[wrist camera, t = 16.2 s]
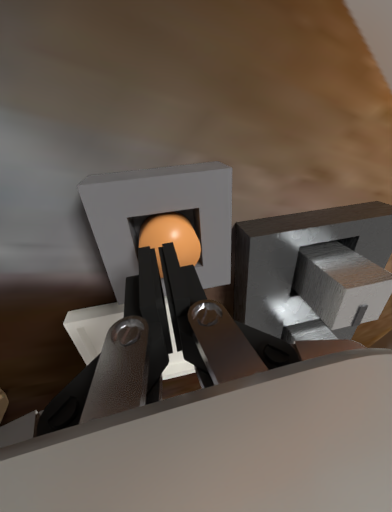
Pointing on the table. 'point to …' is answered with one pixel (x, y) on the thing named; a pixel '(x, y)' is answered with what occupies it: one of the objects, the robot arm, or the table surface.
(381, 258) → the grey slotted frame
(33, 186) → the table surface
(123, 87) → the table surface
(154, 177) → the button housing
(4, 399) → the alarm clock
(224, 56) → the table surface
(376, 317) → the billet
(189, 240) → the button cap
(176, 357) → the tray
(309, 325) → the block
